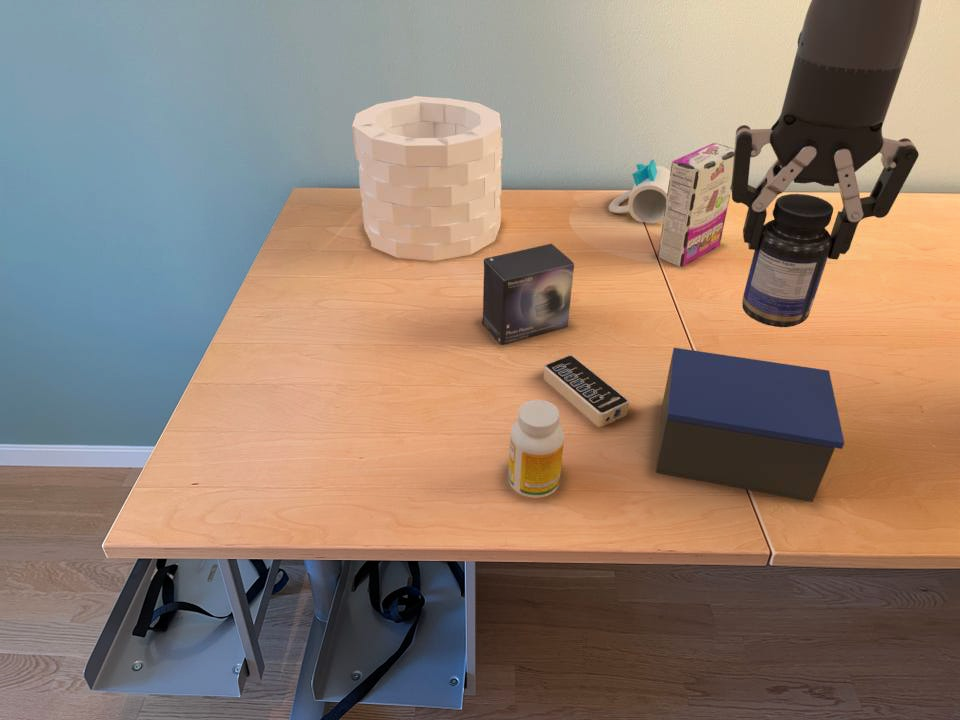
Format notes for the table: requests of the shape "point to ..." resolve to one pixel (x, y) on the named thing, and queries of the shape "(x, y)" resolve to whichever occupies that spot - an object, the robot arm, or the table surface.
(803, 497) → the storage box
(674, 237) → the candy bar box
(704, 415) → the storage lid
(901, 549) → the table surface
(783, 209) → the pill bottle
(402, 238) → the basket
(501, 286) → the small box
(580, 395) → the multiport hub
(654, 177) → the mug
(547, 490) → the supplement bottle
